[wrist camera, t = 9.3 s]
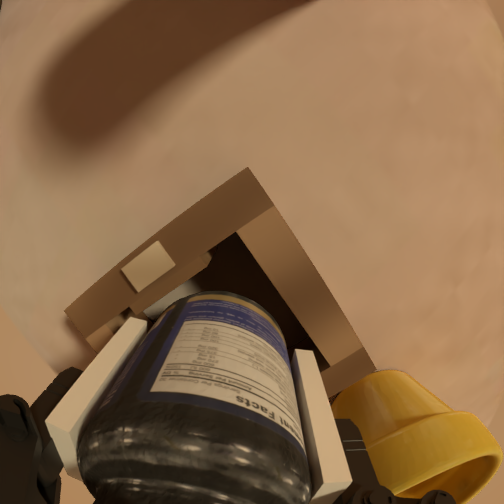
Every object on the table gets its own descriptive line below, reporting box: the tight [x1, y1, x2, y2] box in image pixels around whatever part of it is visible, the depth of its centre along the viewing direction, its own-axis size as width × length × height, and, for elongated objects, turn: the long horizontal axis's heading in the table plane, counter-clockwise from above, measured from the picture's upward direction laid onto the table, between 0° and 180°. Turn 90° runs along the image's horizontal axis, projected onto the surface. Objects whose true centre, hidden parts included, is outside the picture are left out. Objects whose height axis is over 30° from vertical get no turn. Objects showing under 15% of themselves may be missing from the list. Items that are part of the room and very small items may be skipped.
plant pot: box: [331, 370, 503, 504], centre depth 13 cm, size 10×10×10 cm
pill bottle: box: [77, 291, 312, 504], centre depth 8 cm, size 6×6×11 cm
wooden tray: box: [64, 167, 377, 398], centre depth 14 cm, size 11×11×4 cm
